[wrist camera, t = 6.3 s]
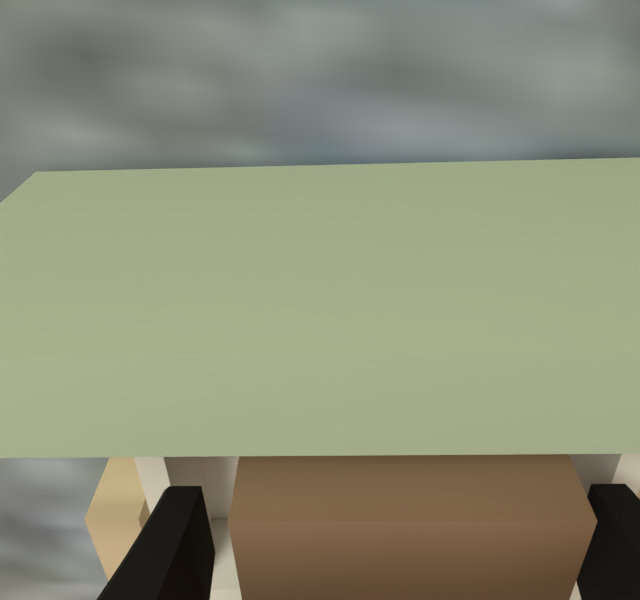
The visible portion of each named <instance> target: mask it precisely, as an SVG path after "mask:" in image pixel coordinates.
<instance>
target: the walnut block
mask: <svg viewBox="0 0 640 600" xmlns="http://www.w3.org/2000/svg"><path fill="white" fill-rule="evenodd" d="M597 522H598V521H597V519H596V516H595V514H594V512H593V510H592V507H591V505H590V503H589V500H588V498H587V496H586V493H585V491H584V489H583V486H582V484H581V482H580V479H579V477H578V475H577V472H576V470H575V468H574V466H573V463H572V461H571V459H570V456H569V454H511V455H361V456H239V460H238V466H237V472H236V478H235V483H234V489H233V495H232V501H231V506H230V512H229V518H228V526H229V531H230V537H231V542H232V548H233V553H234V559H235V564H236V570H237V575H238V580H239V586H240V591H241V597H242V600H569V599H570V597H571V594H572V591H573V588H574V586H575V583H576V580H577V577H578V574H579V572H580V569H581V566H582V563H583V560H584V558H585V555H586V552H587V549H588V547H589V544H590V541H591V538H592V535H593V533H594V530H595V527H596V524H597Z"/></svg>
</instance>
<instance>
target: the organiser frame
mask: <svg viewBox="0 0 640 600" xmlns="http://www.w3.org/2000/svg"><path fill="white" fill-rule="evenodd" d="M637 497H638V498H639V499H640V488H639V491H638V493H637ZM150 515H151V514H150V511H149V508H148V504H147V501H146V498H145V494H144V491H143V487H142V484H141V481H140V477H139V474H138V470H137V467H136V464H135V460H134V457H110V458H109V460H108V463H107V465H106V468H105V470H104V473H103V475H102V477H101V480H100V482H99V485H98V487H97V490H96V492H95V494H94V497H93V499H92V502H91V504H90V507H89V509H88V512H87V514H86V516H85V519H84V520H85V523H86V525H87V528H88V531H89V533H90V536H91V538H92V541H93V543H94V546H95V548H96V551H97V553H98V556H99V558H100V561H101V563H102V566H103V568H104V571H105V573H106V576H107V579H108V581H109V580H110V579H111V577H112V576H113V574H114V573H115V571H116V570H117V568H118V567H119V565H120V564H121V562H122V561H123V559H124V558H125V556H126V554H127V553H128V551H129V550H130V548H131V546H132V545H133V543H134V541H135V540H136V538H137V537H138V535H139V533H140V532H141V530H142V528H143V527H144V525H145V523H146V522H147V520H148V518H149V517H150Z"/></svg>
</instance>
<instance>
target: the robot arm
mask: <svg viewBox="0 0 640 600" xmlns="http://www.w3.org/2000/svg"><path fill="white" fill-rule="evenodd" d="M587 498H588V500H589V503H590V505H591V507H592V510H593V512H594V514H595V516H596V519H597V521H598V522H597V524H596V527H595V530H594V533H593V535H592V538H591V541H590V544H589V547H588V549H587V552H586V555H585V558H584V560H583V563H582V566H581V569H580V572H579V574H578V577H577V580H576V581H577V585H578V589H579V592H580V596H581V600H640V499H639V498H638V497H637V496H636V495H635V493H634V492H633V491H632V490H631V489H630V488H629V487H628V486H627V485H626V484H591V486H590V490H589V493H588V496H587ZM214 560H215V548H214V543H213V538H212V534H211V529H210V524H209V520H208V515H207V510H206V505H205V501H204V496H203V491H202V487H201V486H169V487H168V488H166V489H165V490H164V492H163V493H162V495H161V497H160V499H159V501H158V503H157V504H156V506H155V508H154V510H153V511H152V513H151V515H150V517H149V518H148V520H147V522H146V523H145V525H144V527H143V528H142V530H141V532H140V533H139V535H138V537H137V538H136V540H135V541H134V543H133V545H132V546H131V548H130V550H129V551H128V553H127V554H126V556H125V558H124V559H123V561H122V562H121V564H120V565H119V567H118V568H117V570H116V571H115V573H114V574H113V576H112V577H111V579H110V580H109V582H108V583H107V585H106V586H105V588H104V589H103V591H102V592H101V594H100V595H99V597H98V598H97V600H210V593H211V585H212V577H213V569H214Z"/></svg>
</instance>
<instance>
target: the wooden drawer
mask: <svg viewBox="0 0 640 600" xmlns="http://www.w3.org/2000/svg"><path fill="white" fill-rule="evenodd" d="M511 454H569V456H570V459H571V461H572V463H573V466H574V468H575V470H576V472H577V475H578V477H579V479H580V482H581V484H582V486H583V489H584V491H585V493H586V496H588V493H589V490H590V486H591V484H626V485H627V486H628V487H629V488H630V489H631V490H632V491H633V492H634V493H635V495H636V496H637V493H638V491H639V488H640V158H604V159H561V160H518V161H476V162H433V163H390V164H348V165H305V166H262V167H220V168H177V169H135V170H92V171H49V172H35V173H34V174H33V175H32V176H31V177H30V178H28V179H27V180H26V181H25V182H24V183H23V184H22V185H20V186H19V187H18V188H17V189H16V190H15V191H14V192H12V193H11V194H10V195H9V196H8V197H7V198H6V199H4V200H3V201H2V202H1V203H0V458H61V457H134V460H135V464H136V467H137V470H138V474H139V477H140V481H141V484H142V487H143V491H144V494H145V498H146V501H147V504H148V508H149V511H150V514H151V513H152V511H153V510H154V508H155V506H156V504H157V503H158V501H159V499H160V497H161V495H162V493H163V492H164V490H165V489H166V488H168V487H169V486H201V487H202V491H203V496H204V501H205V505H206V510H207V515H208V520H209V524H210V529H211V534H212V538H213V543H214V548H215V560H214V569H213V577H212V585H211V593H210V600H242V597H241V591H240V586H239V580H238V575H237V570H236V564H235V559H234V553H233V548H232V542H231V537H230V531H229V526H228V518H229V512H230V506H231V501H232V495H233V489H234V483H235V478H236V472H237V466H238V460H239V456H361V455H511ZM569 600H581V596H580V592H579V589H578V585H577V581H576V583H575V586H574V588H573V591H572V594H571V597H570V599H569Z"/></svg>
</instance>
